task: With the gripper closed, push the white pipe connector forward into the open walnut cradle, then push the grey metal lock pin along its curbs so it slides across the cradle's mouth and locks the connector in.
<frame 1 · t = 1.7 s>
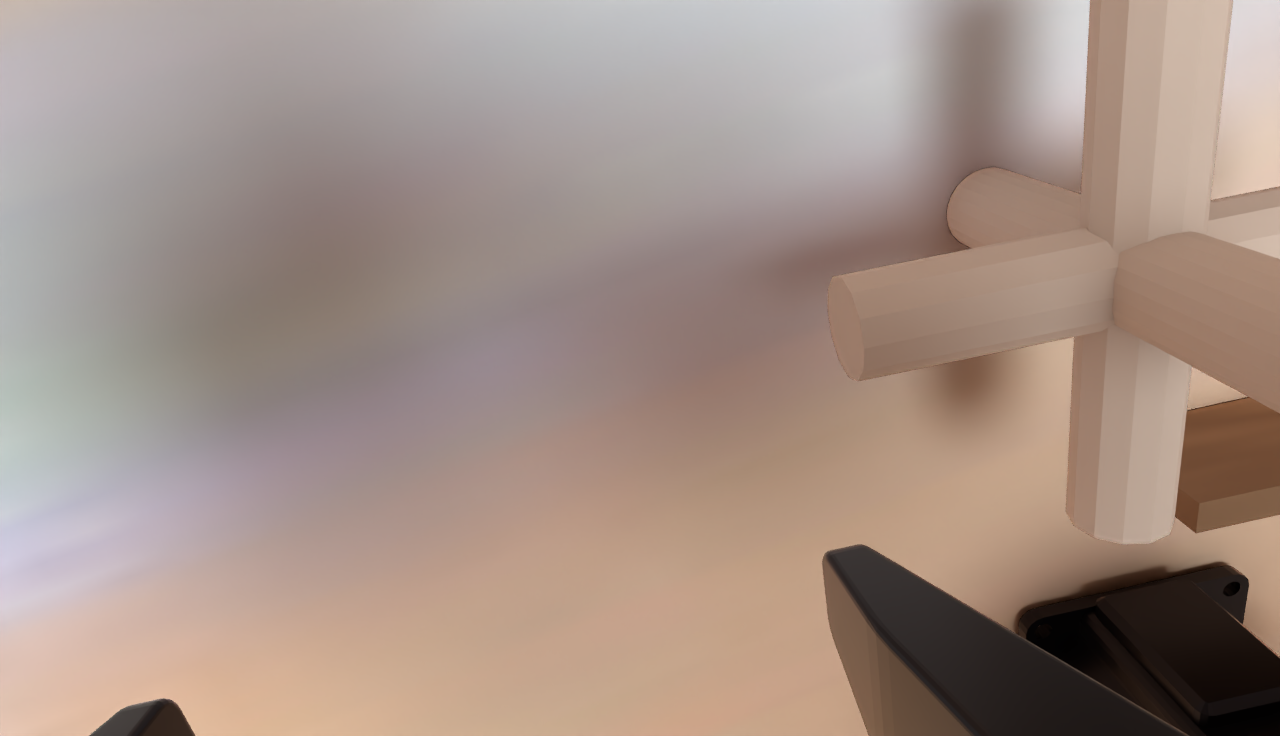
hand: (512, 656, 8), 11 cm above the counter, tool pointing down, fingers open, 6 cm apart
pipe connector: (981, 206, 19), on the counter
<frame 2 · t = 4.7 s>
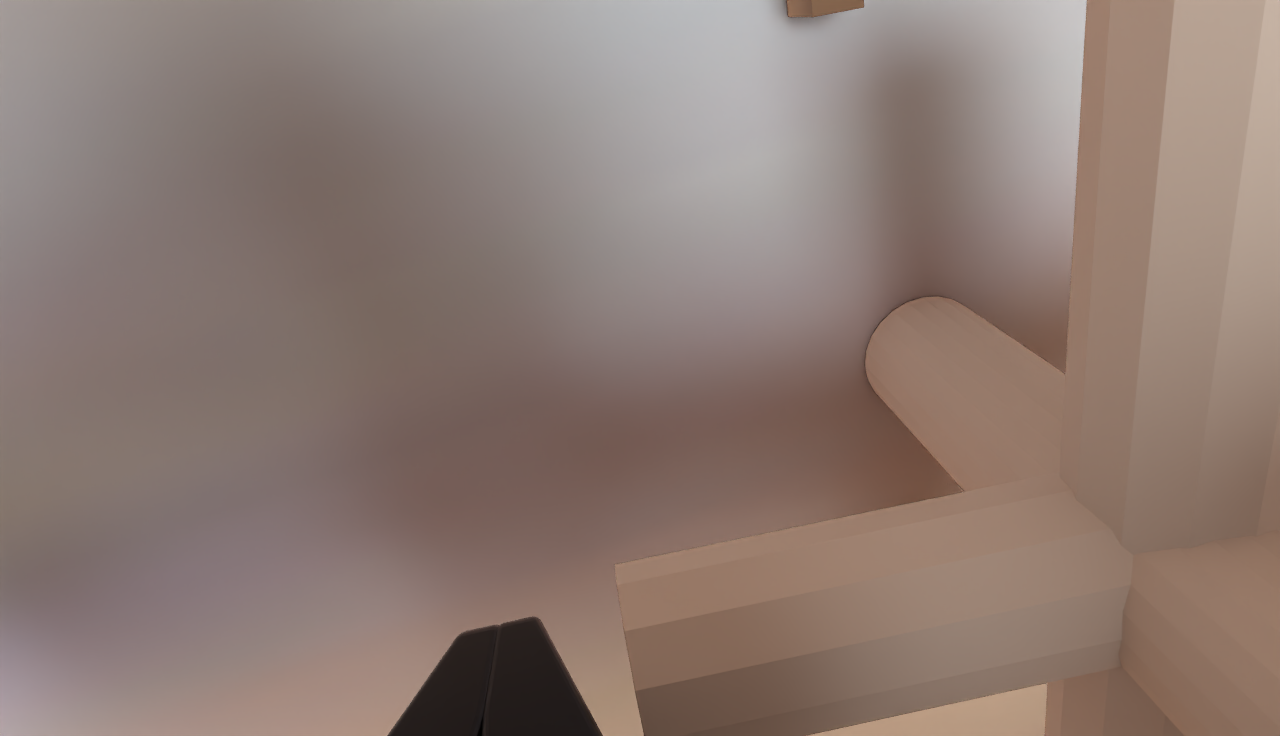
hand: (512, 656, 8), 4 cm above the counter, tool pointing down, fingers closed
pipe connector: (917, 348, 12), on the counter, touching gripper
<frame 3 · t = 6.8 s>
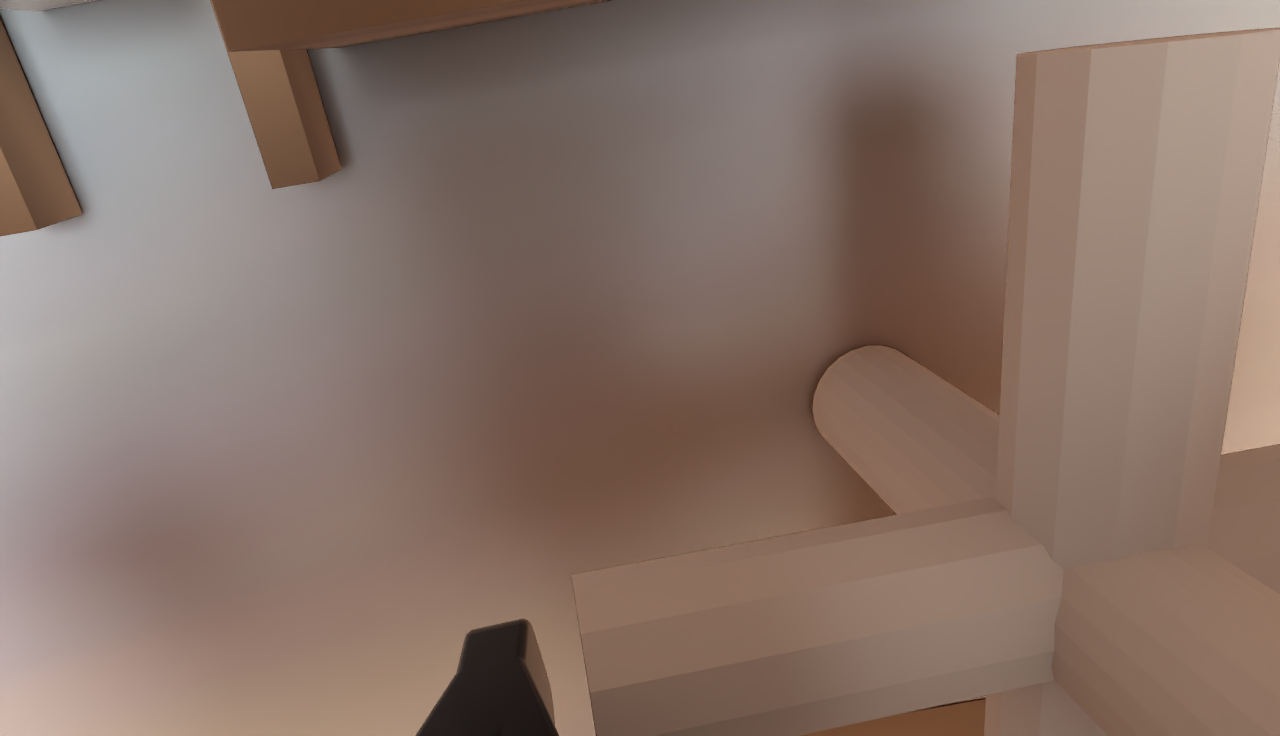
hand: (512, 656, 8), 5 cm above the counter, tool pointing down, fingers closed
dock cradle: (1108, 367, 13), on the counter
pipe connector: (862, 395, 13), on the counter, touching gripper
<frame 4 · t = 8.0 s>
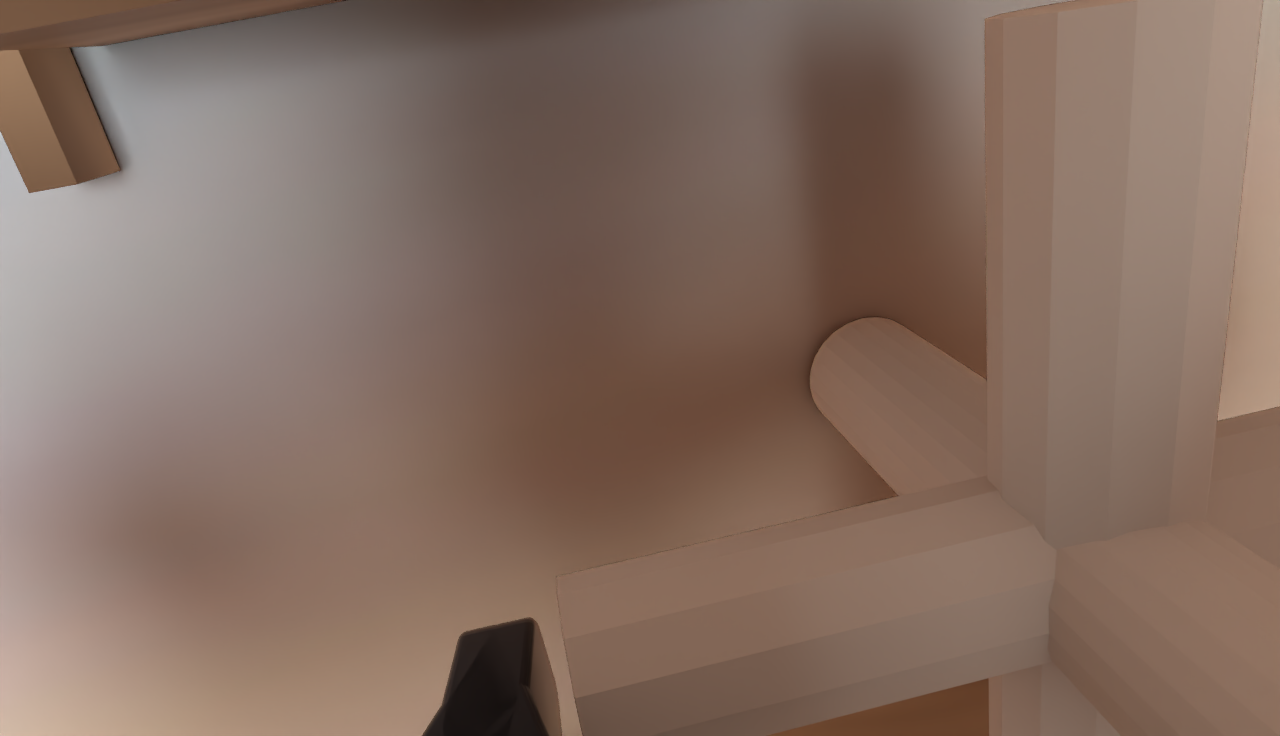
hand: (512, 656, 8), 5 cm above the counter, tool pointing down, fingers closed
dock cradle: (939, 366, 13), on the counter
pipe connector: (860, 368, 13), on the counter, touching gripper
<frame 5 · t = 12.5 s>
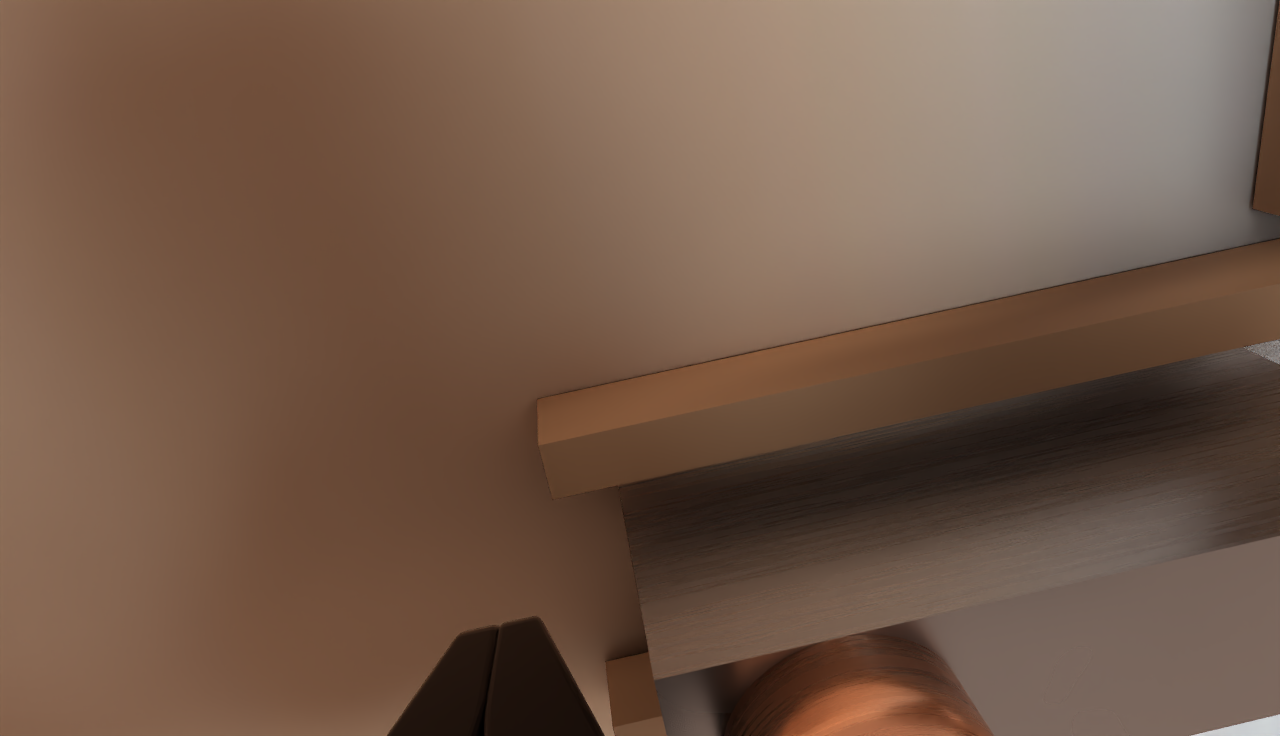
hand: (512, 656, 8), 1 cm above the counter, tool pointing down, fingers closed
lock pin: (1031, 602, 8), point 2 cm above the counter, slide at 5.9 cm, touching gripper
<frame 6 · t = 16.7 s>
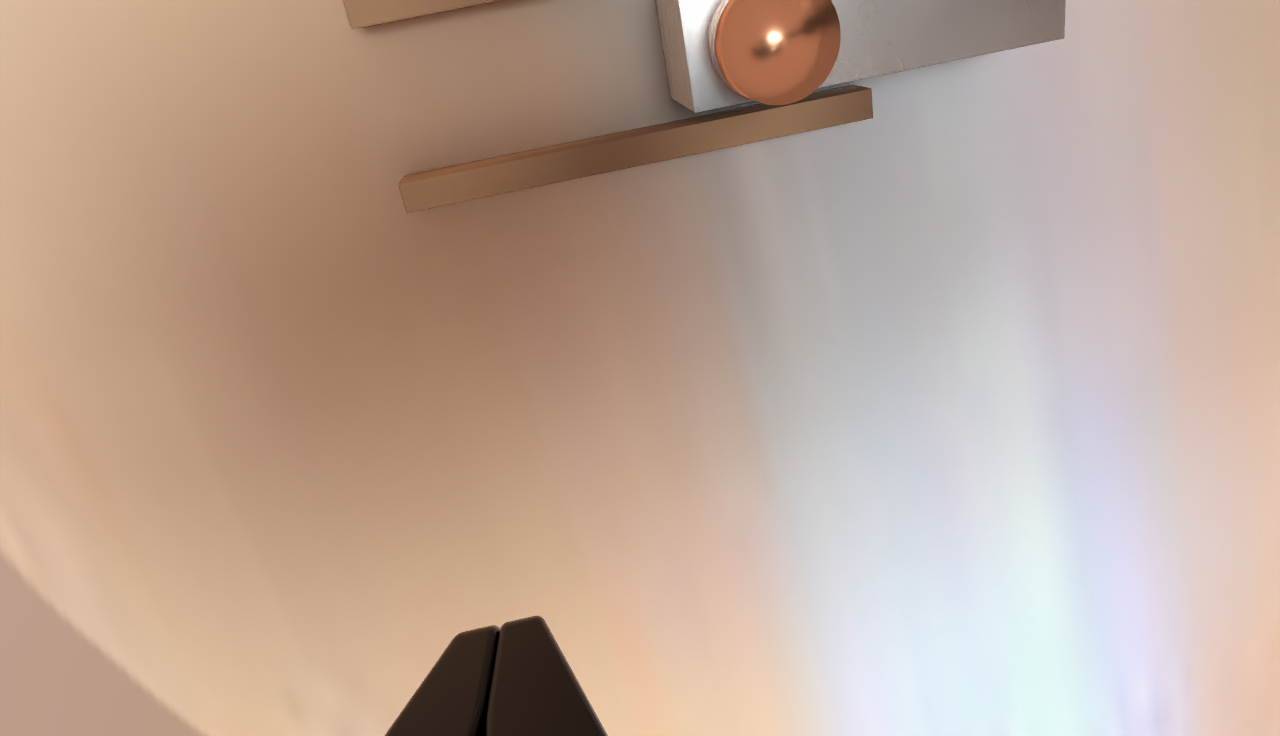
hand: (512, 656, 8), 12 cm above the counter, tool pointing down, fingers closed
lock pin: (859, 16, 15), point 2 cm above the counter, slide at 0.6 cm
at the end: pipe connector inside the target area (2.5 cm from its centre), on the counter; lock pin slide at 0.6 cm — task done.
